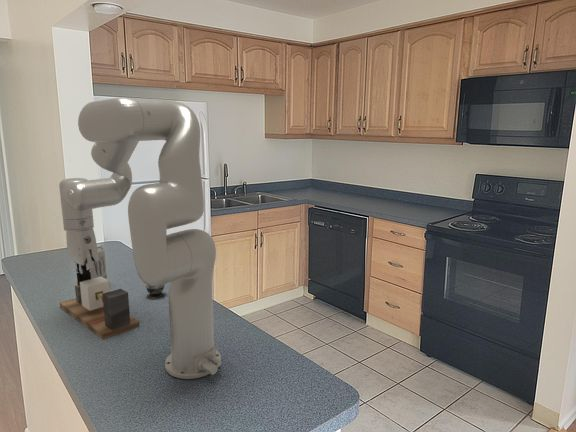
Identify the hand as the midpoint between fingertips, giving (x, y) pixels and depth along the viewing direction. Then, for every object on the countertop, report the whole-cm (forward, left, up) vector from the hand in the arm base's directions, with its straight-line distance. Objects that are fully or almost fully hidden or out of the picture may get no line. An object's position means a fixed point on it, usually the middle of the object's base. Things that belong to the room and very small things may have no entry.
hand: (84, 285), depth 121 cm
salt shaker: (-4, -20, -9) cm, 22 cm away
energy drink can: (+15, -10, -9) cm, 20 cm away
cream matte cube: (-4, -1, -5) cm, 7 cm away
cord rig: (-5, -1, -8) cm, 10 cm away
